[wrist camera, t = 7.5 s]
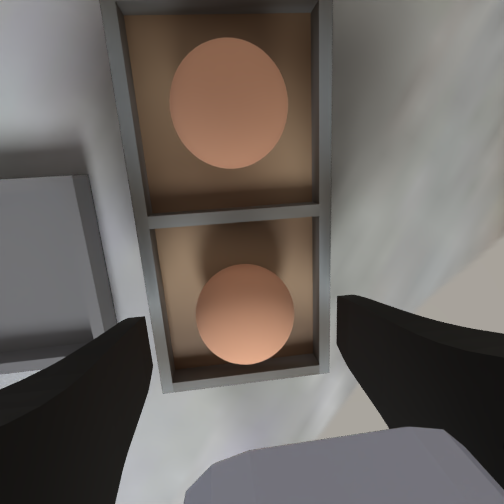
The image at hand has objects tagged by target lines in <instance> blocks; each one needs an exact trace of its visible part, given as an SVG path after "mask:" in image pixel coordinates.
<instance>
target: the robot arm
mask: <svg viewBox="0 0 504 504" xmlns="http://www.w3.org/2000/svg"><path fill="white" fill-rule="evenodd" d="M337 346H338V348H339V350H340V352H341V354H342V356H343V358H344V360H345V362H346V364H347V366H348V368H349V369H350V371H351V372H352V374H353V375H354V377H355V378H356V380H357V381H358V383H359V384H360V385H361V387H362V388H363V390H364V391H365V393H366V394H367V396H368V397H369V399H370V400H371V401H372V403H373V404H374V406H375V407H376V409H377V410H378V412H379V413H380V415H381V416H382V418H383V419H384V421H385V422H386V424H387V425H388V427H389V429H387V430H380V431H374V432H368V433H360V434H354V435H347V436H341V437H335V438H327V439H321V440H314V441H307V442H301V443H294V444H288V445H281V446H274V447H268V448H261V449H254V450H249V451H246V452H243V453H241V454H238V455H235V456H233V457H230V458H227V459H224V460H222V461H219V462H216V463H214V464H213V465H211V466H210V467H209V468H208V469H207V470H206V471H205V472H204V473H203V474H202V475H201V476H200V477H199V478H198V480H197V481H196V482H195V483H194V484H193V485H192V486H191V487H190V488H189V489H188V490H187V491H186V493H185V499H184V504H504V334H502V333H496V332H489V331H483V330H477V329H471V328H466V327H461V326H457V325H453V324H448V323H444V322H440V321H436V320H432V319H429V318H425V317H422V316H419V315H415V314H412V313H409V312H406V311H403V310H400V309H397V308H394V307H391V306H388V305H385V304H382V303H380V302H377V301H374V300H371V299H368V298H365V297H361V296H357V295H345V296H337ZM152 369H153V362H152V356H151V350H150V344H149V338H148V332H147V326H146V320H145V316H144V317H134V318H127V319H125V320H123V321H121V322H119V323H118V324H116V325H115V326H113V327H112V328H110V329H109V330H107V331H106V332H104V333H103V334H101V335H100V336H98V337H97V338H95V339H94V340H92V341H90V342H89V343H87V344H86V345H84V346H83V347H81V348H79V349H78V350H76V351H74V352H73V353H71V354H70V355H68V356H66V357H65V358H63V359H61V360H60V361H58V362H56V363H54V364H52V365H51V366H49V367H47V368H45V369H43V370H41V371H39V372H37V373H35V374H33V375H31V376H29V377H27V378H25V379H23V380H21V381H19V382H16V383H14V384H12V385H9V386H7V387H5V388H3V389H0V504H115V501H116V497H117V493H118V488H119V484H120V480H121V475H122V471H123V467H124V463H125V460H126V457H127V453H128V450H129V447H130V444H131V441H132V438H133V435H134V432H135V430H136V427H137V424H138V421H139V418H140V415H141V412H142V409H143V406H144V403H145V400H146V397H147V394H148V390H149V385H150V380H151V375H152Z"/></svg>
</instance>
